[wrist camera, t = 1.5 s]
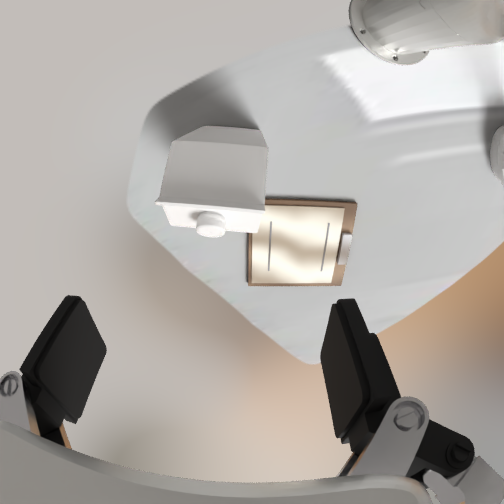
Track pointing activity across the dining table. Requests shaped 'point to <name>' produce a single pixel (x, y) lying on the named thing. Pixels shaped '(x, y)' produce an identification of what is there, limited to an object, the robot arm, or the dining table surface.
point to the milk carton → (216, 180)
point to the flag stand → (498, 154)
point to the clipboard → (301, 243)
